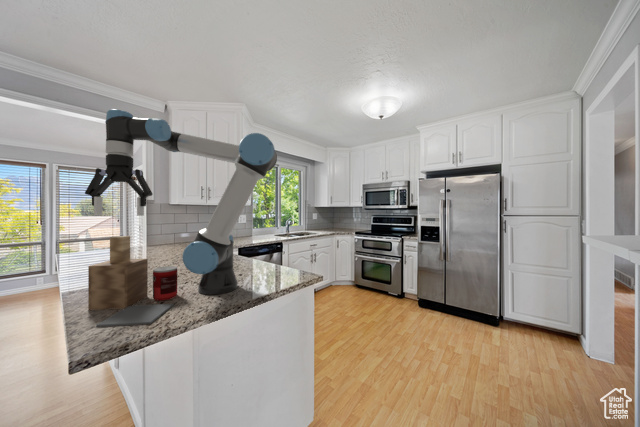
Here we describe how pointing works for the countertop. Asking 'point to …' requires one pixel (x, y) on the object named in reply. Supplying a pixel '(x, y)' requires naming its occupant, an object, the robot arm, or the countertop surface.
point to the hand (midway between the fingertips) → (119, 215)
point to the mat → (136, 315)
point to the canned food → (164, 283)
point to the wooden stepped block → (117, 278)
